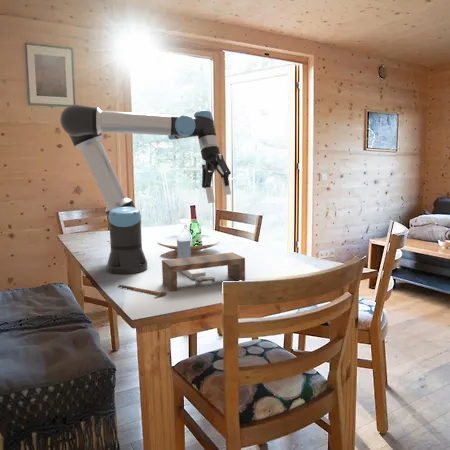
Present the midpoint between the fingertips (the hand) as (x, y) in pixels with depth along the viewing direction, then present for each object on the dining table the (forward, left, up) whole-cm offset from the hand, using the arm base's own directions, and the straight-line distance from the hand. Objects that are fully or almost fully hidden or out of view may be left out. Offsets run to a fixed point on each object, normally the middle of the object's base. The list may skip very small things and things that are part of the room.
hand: (219, 198), depth 170 cm
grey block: (-17, -13, -26) cm, 33 cm away
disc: (-18, -28, -26) cm, 42 cm away
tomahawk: (-39, -28, -26) cm, 55 cm away
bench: (-18, -27, -26) cm, 41 cm away
